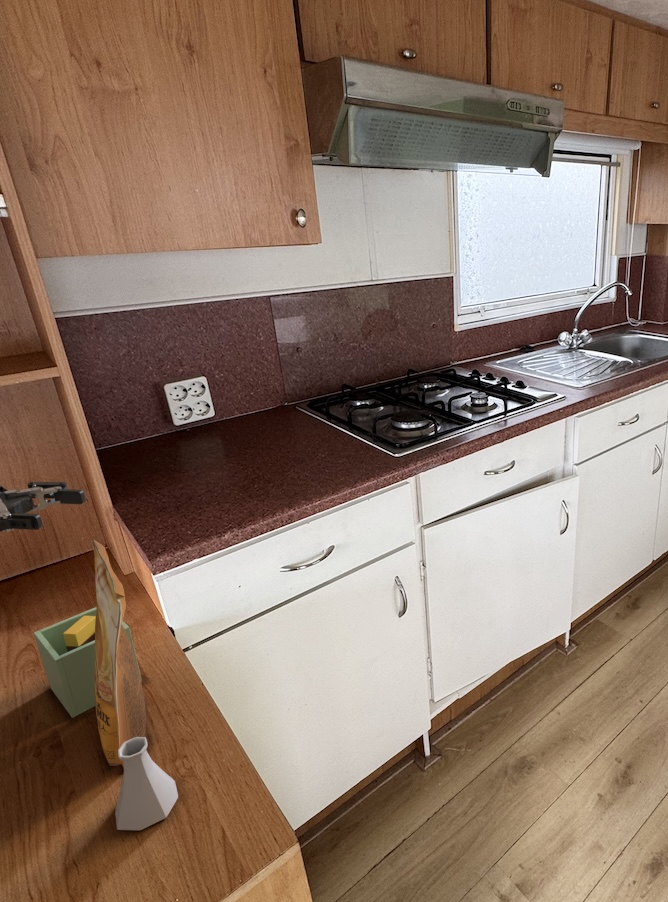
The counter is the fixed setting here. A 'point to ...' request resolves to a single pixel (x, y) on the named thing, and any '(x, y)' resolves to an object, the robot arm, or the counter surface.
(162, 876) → the counter surface
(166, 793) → the flask
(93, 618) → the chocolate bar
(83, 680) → the trash can
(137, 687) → the pancake mix bag
